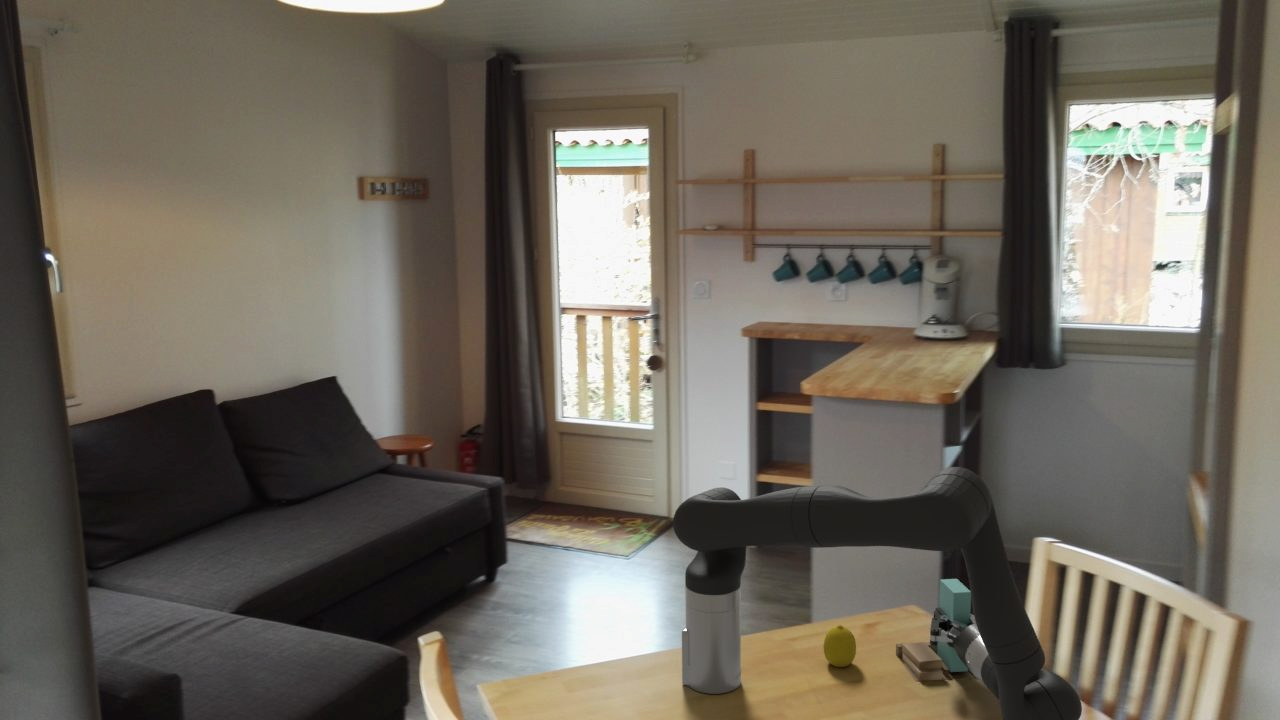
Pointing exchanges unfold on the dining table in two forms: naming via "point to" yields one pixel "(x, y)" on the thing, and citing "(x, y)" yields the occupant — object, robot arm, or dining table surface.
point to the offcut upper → (922, 655)
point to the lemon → (839, 646)
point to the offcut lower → (923, 671)
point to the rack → (945, 669)
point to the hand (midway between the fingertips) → (947, 612)
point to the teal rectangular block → (955, 606)
